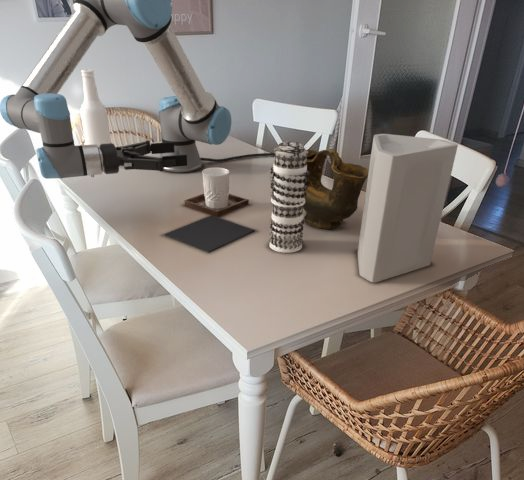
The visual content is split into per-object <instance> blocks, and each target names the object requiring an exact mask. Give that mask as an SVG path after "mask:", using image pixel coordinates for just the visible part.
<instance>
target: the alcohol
mask: <svg viewBox="0 0 524 480" xmlns="http://www.w3.org/2000/svg"><path fill="white" fill-rule="evenodd" d="M94 72H95V71H94V70H93V69H91V68H90V69H88V68H87V69H84V68H83V69H81V70H80V73H81V78H82V89H83V102H82V103H81V105H80V111H79V113H80V120H81V125H82V126H81V127H82V132H83V136H84V143H85V144H84V145H91V144H97V145H98V146H100V145H101V144H108V143H112V138H111V129H110V123H109V116H108V111H107V108H106V106H105V105H104V103H103V102H102V101H101V100H100V98H99V92H98V89H97V84H96V79H95V73H94Z"/></svg>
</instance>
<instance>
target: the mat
mask: <svg viewBox="0 0 524 480" xmlns="http://www.w3.org/2000/svg"><path fill="white" fill-rule="evenodd" d="M253 232H255V229H252V228H250V227H247V226H244V225H241V224H238V223H235V222H233V221H231V220H230V221H229V220H226V219H223V218H221V217H217V216H214V215H211V214H210V215H209V216H206V217H204V218H201V219H199V220H196V221H193V222H191V223H189V224H186V225H184V226H181V227H178V228H176V229H174V230H171V231H168V232H166V233H164V236H166V237H168V238H171V239H174V240H176V241H178V242H182V243H183V244H187V245H189V246H192V247H194V248H196V249H199V250H201V251H204V252H206V253H211V252H212V251H215V250H218V249H219V248H222V247H224V246H226V245H228V244H230V243H232V242H235V241H236V240H238V239H240V238H243V237H245V236H247V235H249V234H252V233H253Z"/></svg>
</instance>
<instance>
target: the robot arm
mask: <svg viewBox="0 0 524 480" xmlns="http://www.w3.org/2000/svg"><path fill="white" fill-rule="evenodd" d="M171 3H173V1H172V0H74V1H73V4H72V5H71V12H72V13H71V15H70V16H69V17H68V19H67V20H66V22H65V23H64V24H63V26H61V28H60V30H59V31H58V32H57V34H56V36H55V37H54V39H53V40H52V42H51V43H50V44H49V46H48V47H47V49H46V50H45V51H44V53H43V54H42V56H41V58H39V61H38V62H37V63H36V65H35V66H34V68H32V70H31V72H30V73H29V75H28V76H27V77H26V79H25V80H24V82H23V83H22V85H21V86H20V88H19V89H18V90H17V92H16V93H15V94H8V95H6V96H4V97H3V98H2V99H1V100H0V115H1V118H2V119H3V120H4V121H5V122H6V123H7V124H8V125H10V126H13V127H15V128H17V129H20V130H26V131H31V132H34V133H38V134H40V137H41V142H42V146H41V147H38V148H37V149H35V152H36V157H37V163H38V166H39V171H40V175H41V176H42V177H43V178H44V179H46V180H47V179H48V180H50V179H61V180H63V179H68V178H76V177H77V178H78V177H91V178H94V177H95V176H100V175H103V173H104V174H105V175H114V174H115V175H116V174H118V173H119V172H120V167H123V168H124V170H125V171H128V170H139V171H141V170H142V171H158V172H159V171H160V172H168V173H175V174H177V173H178V174H179V173H181V174H183V173H184V174H185V173H191V172H192V173H193V172H195V171H199V170H200V169H201V168H202V167H203V165H202V162H213V163H222V162H228V161H232V160H240V159H246V158H253V157H269V156H272V157H273V156H274V157H275V152H264V153H263V152H262V153H261V152H260V153H250V154H242V155H236V156H230V157H225V158H210V157H201V156H200V152H199V150H198V147H197V144H196V143H197V142H200V143H204V144H209V145H215V146H218V145H222V144H224V142H226V140H227V139H228V137H229V135H230V132H231V128H232V114H231V112H230V110H229V108H227V107H225V106H221V105H219V104H218V102H217V100H216V98H215V97H214V94H212V93H211V92H209V91H206V89H205V88H204V86H203V84H202V82H201V80H200V78H199V77H198V74H197V73H196V71H195V69H194V67H193V66H192V64H191V62H190V59H189V58H188V56H187V54H186V52H185V50H184V48H183V47H182V44H181V43H180V41H179V39H178V37H177V35H176V34H175V32H174V29H173V28H172V24H173V16H172V15H173V14H172V13H173V6H172V5H171ZM114 26H126V27H127V28H128V30H129V32H130V33H131V34H132V36H133V38H134V40H135V41H136V42H137V43H139V44H144V45H145V47H146V48H147V51H148V52H149V54H150V55H151V57H152V59H153V60H154V62H155V64H156V66H157V67H158V69H159V70H160V72H161V74H162V75H163V77H164V78H165V81H166V82H167V84H168V85H169V87H170V89H171V90H172V93H174V95H172V96H166V97H165V96H164V97H162V98H161V99H160V100H159V102H158V115H159V125H160V126H159V127H160V135H161V142H152V143H151V141H150V140H149V139H148V140H145V141H141V142H136V143H132V144H131V143H130V144H126V145H121V146H115V143H113V142H111V143H108V144H101V145H100V146H98V145H97V144H91V145H86V144H81V145H75V140H74V135H73V128H72V120H71V112H70V110H69V106H68V102H67V99H66V97H65V96H64V95H63V94H60V93H59V92H60V91H61V90H62V89H63V87H64V85H65V84H66V83H67V81H68V80H69V79H70V77H71V75H72V74H73V72H74V71H75V70H76V69H77V67H78V65H79V63H80V62H81V61H82V60H83V58H84V56H85V55H86V53H87V52H88V51H89V49H90V48H91V46H92V45H93V43H94V42H95V41H96V39H97V38H98V37H102V36H104V35H105V34H106V32H107V31H108V30H109V29H110V28H112V27H114ZM149 154H151V155H157V154H158V155H160V156H159V157H158V156H151V155H149Z"/></svg>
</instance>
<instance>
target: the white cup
mask: <svg viewBox="0 0 524 480" xmlns="http://www.w3.org/2000/svg"><path fill="white" fill-rule="evenodd" d="M201 174H202V186H203V194H204V196H205V200H204V201H205V202H204V204H205V206H206V207H209V208H212V209H215V210H220V209H222V208H225V207H228V206H229V199H228V196H229V194H230V170H229V169H227V168H224V167H207V168H204V169H203V170H202V171H201Z"/></svg>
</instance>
